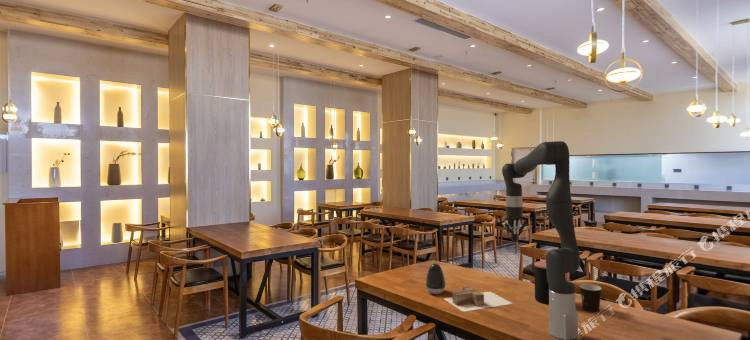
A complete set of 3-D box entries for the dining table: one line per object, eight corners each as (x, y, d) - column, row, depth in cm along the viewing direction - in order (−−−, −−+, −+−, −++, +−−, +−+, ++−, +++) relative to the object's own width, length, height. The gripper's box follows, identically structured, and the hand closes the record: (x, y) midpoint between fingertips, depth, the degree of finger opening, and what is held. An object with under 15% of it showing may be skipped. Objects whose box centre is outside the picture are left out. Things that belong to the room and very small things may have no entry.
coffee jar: (561, 306, 180) (561, 267, 179) (537, 305, 182) (536, 266, 181) (555, 298, 190) (555, 261, 190) (532, 297, 192) (532, 260, 192)
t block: (484, 304, 182) (483, 294, 182) (461, 308, 178) (461, 297, 178) (470, 296, 193) (469, 286, 193) (448, 299, 190) (448, 289, 189)
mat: (513, 304, 183) (512, 303, 183) (462, 312, 175) (462, 311, 174) (490, 292, 200) (489, 291, 200) (443, 299, 192) (443, 298, 192)
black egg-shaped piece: (422, 294, 199) (422, 265, 199) (429, 288, 208) (429, 260, 208) (441, 297, 194) (441, 267, 194) (448, 291, 204) (447, 262, 203)
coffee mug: (601, 314, 169) (601, 291, 169) (579, 310, 174) (579, 288, 173) (602, 305, 179) (602, 284, 179) (581, 302, 184) (580, 281, 183)
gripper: (507, 207, 179) (508, 244, 180) (531, 205, 183) (531, 241, 184) (497, 205, 186) (498, 241, 187) (520, 203, 191) (520, 239, 191)
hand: (514, 241), depth 185 cm, fingers closed
